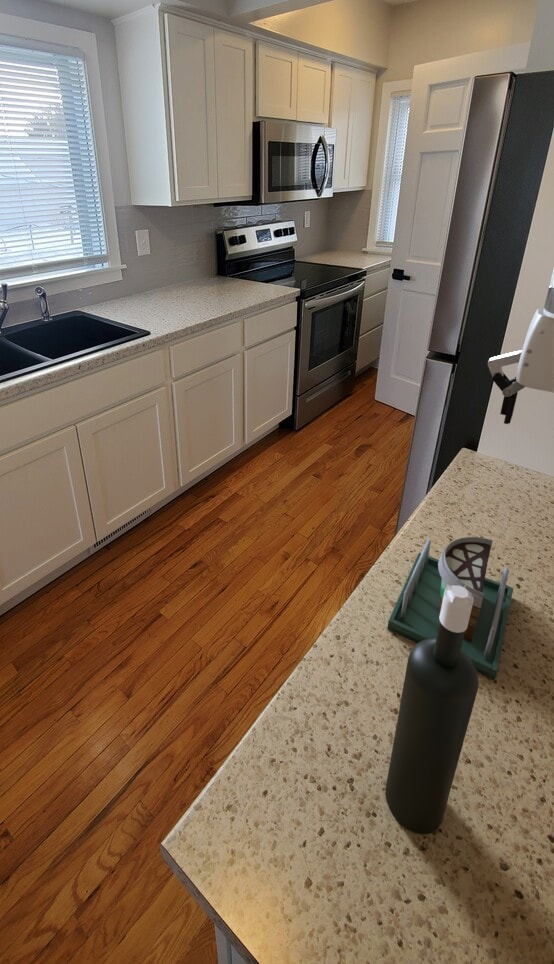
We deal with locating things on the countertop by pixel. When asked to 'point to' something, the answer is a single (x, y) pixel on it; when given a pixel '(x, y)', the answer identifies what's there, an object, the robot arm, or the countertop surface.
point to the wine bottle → (432, 719)
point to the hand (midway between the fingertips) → (548, 428)
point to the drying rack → (421, 613)
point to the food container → (466, 572)
